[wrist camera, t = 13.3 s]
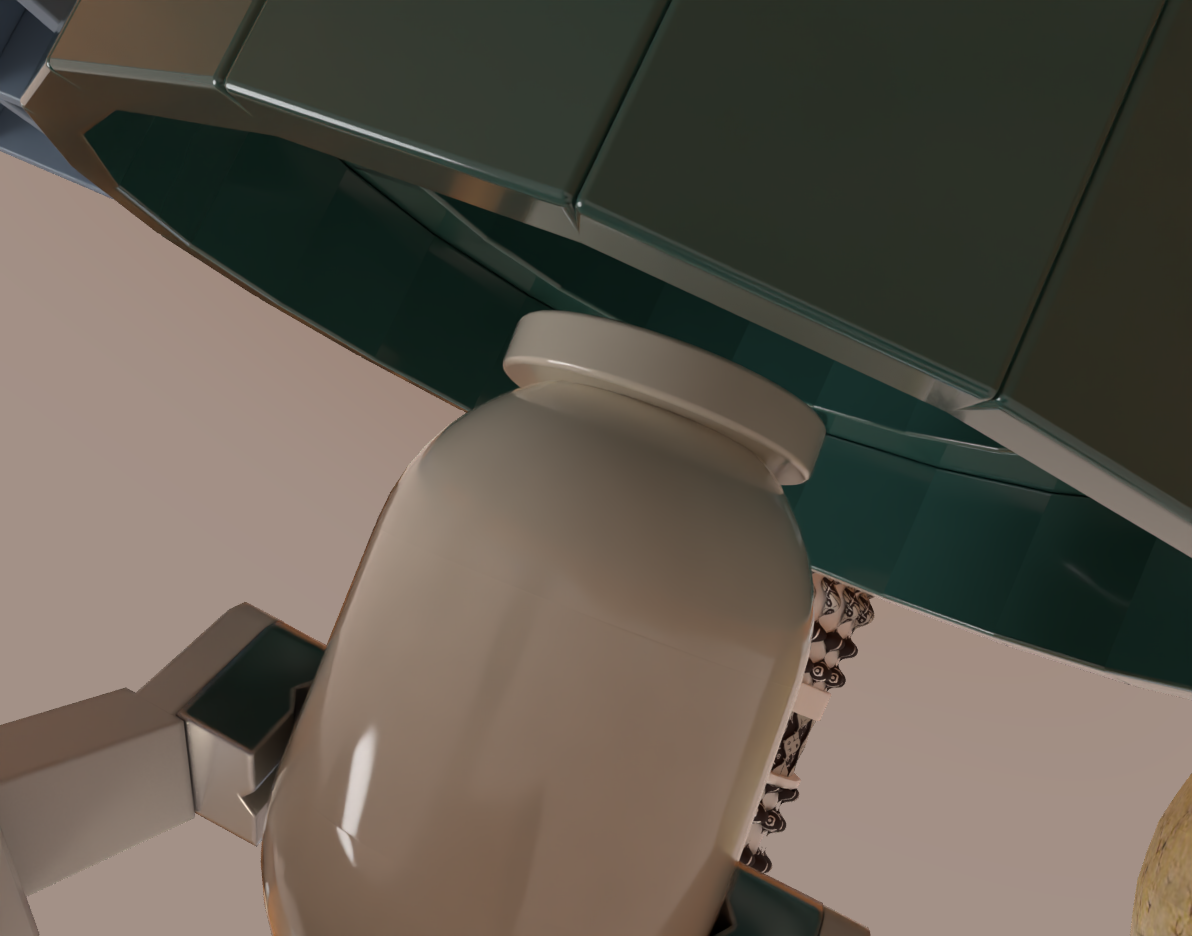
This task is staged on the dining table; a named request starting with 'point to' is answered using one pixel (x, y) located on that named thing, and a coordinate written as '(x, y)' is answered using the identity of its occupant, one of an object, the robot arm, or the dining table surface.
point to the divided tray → (3, 68)
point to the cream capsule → (558, 656)
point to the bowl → (736, 244)
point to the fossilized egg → (1167, 874)
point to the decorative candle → (809, 702)
